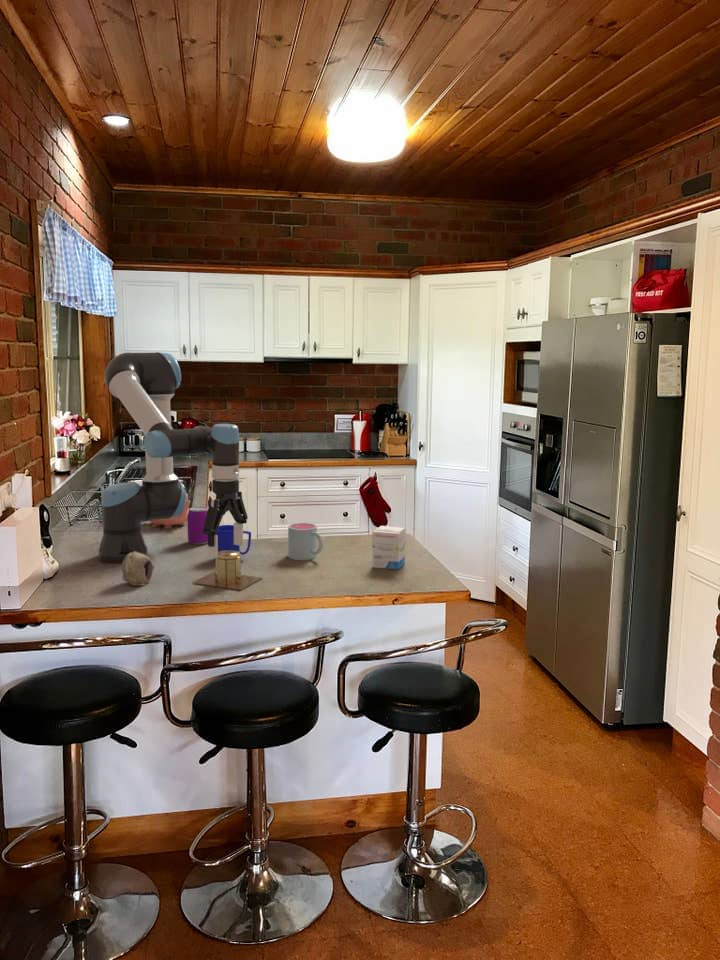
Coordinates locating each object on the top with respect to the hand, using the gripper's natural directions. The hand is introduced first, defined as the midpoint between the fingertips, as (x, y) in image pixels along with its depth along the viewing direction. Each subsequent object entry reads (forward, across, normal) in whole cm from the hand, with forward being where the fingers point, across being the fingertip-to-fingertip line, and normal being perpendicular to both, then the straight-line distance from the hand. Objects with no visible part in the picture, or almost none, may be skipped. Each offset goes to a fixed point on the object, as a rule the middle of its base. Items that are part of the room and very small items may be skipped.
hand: (226, 550), depth 222 cm
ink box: (+9, +35, -38) cm, 52 cm away
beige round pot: (+10, -12, +22) cm, 27 cm away
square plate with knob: (+9, 0, -1) cm, 9 cm away
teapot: (+11, +48, +55) cm, 74 cm away
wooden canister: (+9, 0, -1) cm, 9 cm away
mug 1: (+10, +21, +10) cm, 25 cm away
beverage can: (+10, +33, +31) cm, 46 cm away
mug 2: (+9, +32, -11) cm, 35 cm away
